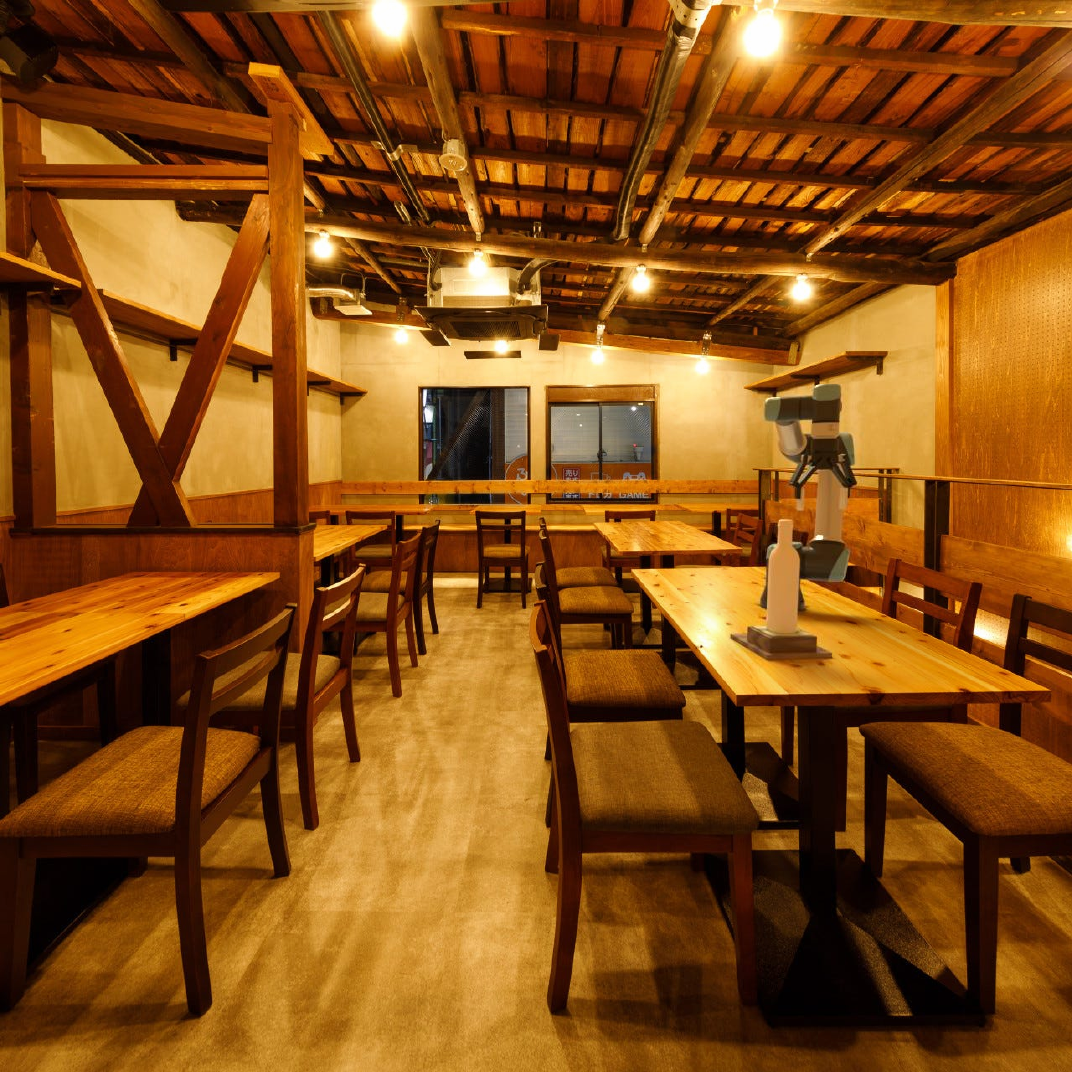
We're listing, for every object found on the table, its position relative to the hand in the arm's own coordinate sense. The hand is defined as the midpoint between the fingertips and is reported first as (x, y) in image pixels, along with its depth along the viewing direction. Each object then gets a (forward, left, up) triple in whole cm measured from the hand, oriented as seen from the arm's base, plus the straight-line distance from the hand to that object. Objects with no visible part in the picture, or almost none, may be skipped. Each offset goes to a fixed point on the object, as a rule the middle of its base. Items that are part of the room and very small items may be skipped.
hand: (821, 509), depth 188 cm
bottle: (+18, -21, -32) cm, 42 cm away
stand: (+15, -20, -37) cm, 45 cm away
